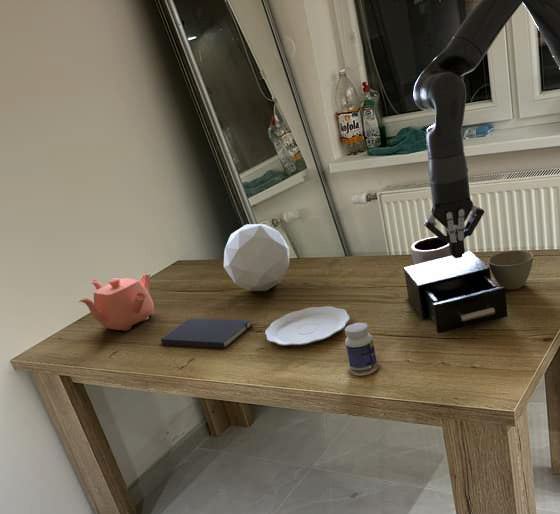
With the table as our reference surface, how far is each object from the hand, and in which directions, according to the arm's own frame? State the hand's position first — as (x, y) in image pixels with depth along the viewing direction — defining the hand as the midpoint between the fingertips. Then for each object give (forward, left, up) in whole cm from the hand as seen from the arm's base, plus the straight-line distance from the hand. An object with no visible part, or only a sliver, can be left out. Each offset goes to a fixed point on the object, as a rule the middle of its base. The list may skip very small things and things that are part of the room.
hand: (457, 257), depth 146 cm
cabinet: (0, -12, -15) cm, 19 cm away
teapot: (+85, -52, -15) cm, 101 cm away
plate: (+34, -15, -15) cm, 41 cm away
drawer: (0, +1, -14) cm, 14 cm away
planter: (-2, -28, -15) cm, 32 cm away
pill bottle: (+25, +12, -15) cm, 32 cm away
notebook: (+60, -28, -15) cm, 68 cm away
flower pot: (-16, -12, -15) cm, 25 cm away
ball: (+43, -54, -15) cm, 71 cm away
